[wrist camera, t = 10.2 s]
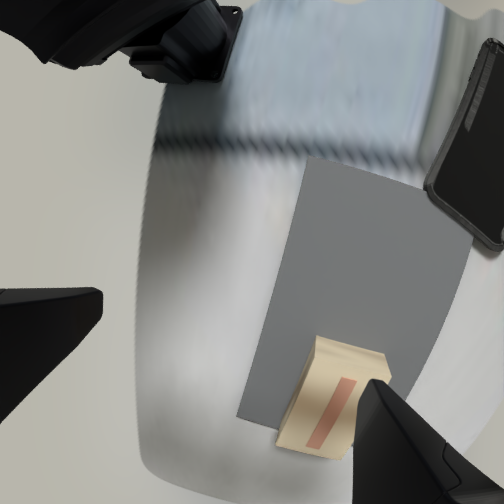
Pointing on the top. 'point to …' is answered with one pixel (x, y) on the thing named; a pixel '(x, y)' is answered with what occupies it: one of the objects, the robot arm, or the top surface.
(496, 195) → the phone
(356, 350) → the beige wooden block
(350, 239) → the mat
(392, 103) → the top surface
